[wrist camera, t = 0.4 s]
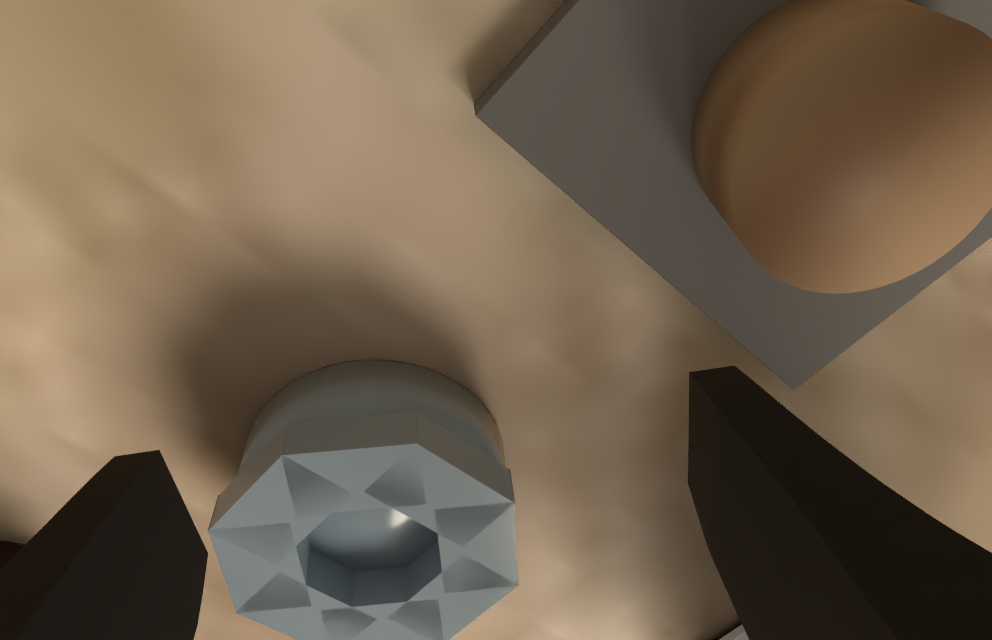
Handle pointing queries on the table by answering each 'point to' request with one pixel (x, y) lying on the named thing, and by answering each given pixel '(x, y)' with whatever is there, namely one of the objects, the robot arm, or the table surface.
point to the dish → (369, 508)
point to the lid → (848, 140)
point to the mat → (679, 164)
